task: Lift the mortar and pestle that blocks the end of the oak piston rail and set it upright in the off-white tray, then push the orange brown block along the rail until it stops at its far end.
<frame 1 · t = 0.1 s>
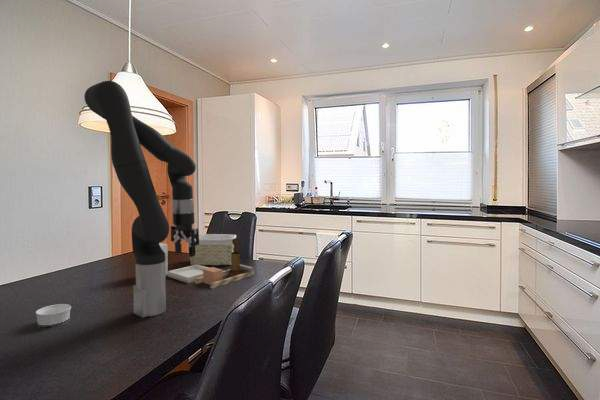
hand: (185, 254, 121), 17 cm above the table, tool pointing down, fingers open, 8 cm apart
storage basket: (213, 263, 179), on the table
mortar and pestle: (235, 276, 154), resting in piston rail
piston rail: (225, 279, 149), on the table
supplement box: (153, 277, 152), on the table
tray: (192, 275, 154), on the table
ramekin: (54, 323, 103), on the table
orange brown block: (213, 276, 143), point 3 cm above the table, slide at 0.0 cm
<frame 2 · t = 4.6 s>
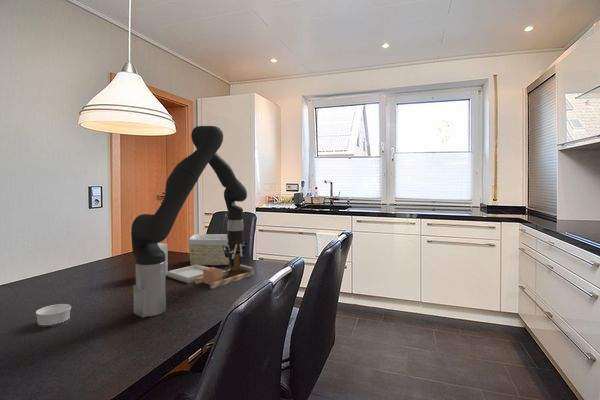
hand: (235, 265, 153), 5 cm above the table, tool pointing down, fingers closed on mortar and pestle, 4 cm apart
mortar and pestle: (235, 276, 154), resting in piston rail, touching gripper
everything else where it was.
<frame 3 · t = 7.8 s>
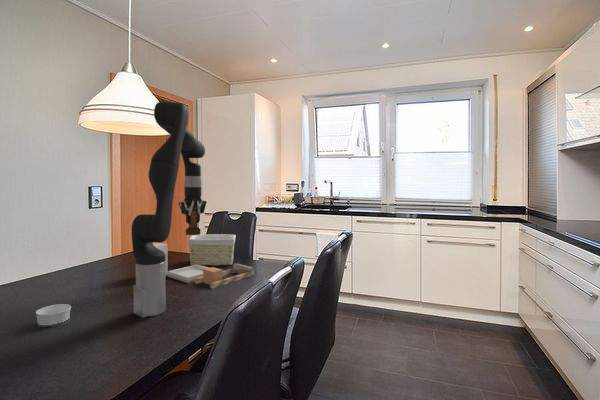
hand: (193, 222, 152), 25 cm above the table, tool pointing down, fingers closed on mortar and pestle, 4 cm apart
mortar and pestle: (193, 234, 152), point 20 cm above the table, touching gripper
everything else where it was.
when the fingers open (8 cm above the table, at t = 11.5 s): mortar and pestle drops 1 cm, resting on tray.
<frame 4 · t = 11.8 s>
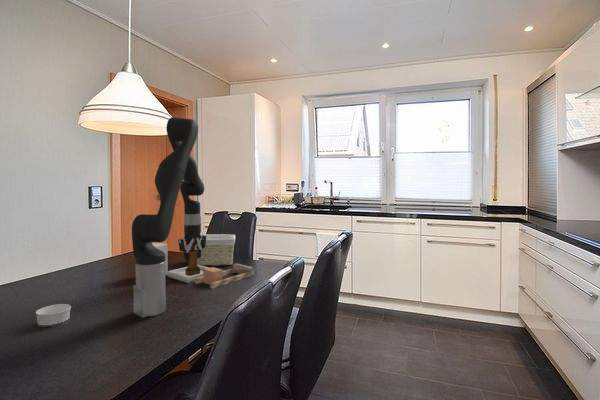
hand: (192, 258, 153), 8 cm above the table, tool pointing down, fingers open, 6 cm apart
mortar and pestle: (192, 274, 153), point 1 cm above the table, touching tray
everything else where it was.
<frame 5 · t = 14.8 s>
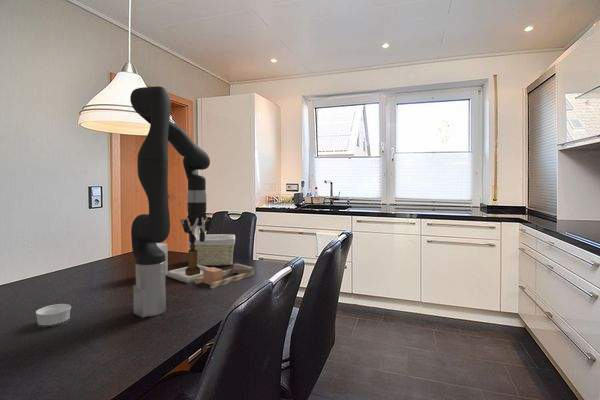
hand: (197, 242, 136), 19 cm above the table, tool pointing down, fingers open, 4 cm apart
nothing on the table moved.
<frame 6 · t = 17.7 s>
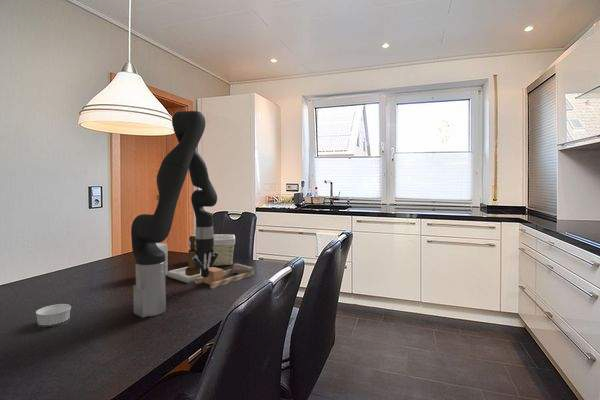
hand: (204, 276, 140), 4 cm above the table, tool pointing down, fingers closed
orange brown block: (213, 276, 143), point 3 cm above the table, slide at 0.3 cm, touching gripper
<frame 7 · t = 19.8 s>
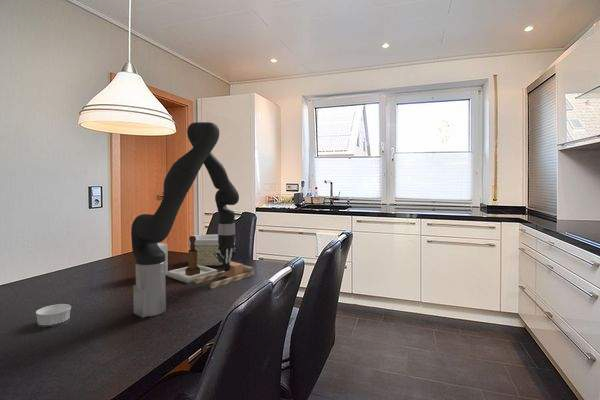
hand: (226, 270, 149), 4 cm above the table, tool pointing down, fingers closed
orange brown block: (233, 270, 153), point 3 cm above the table, slide at 12.1 cm, touching gripper
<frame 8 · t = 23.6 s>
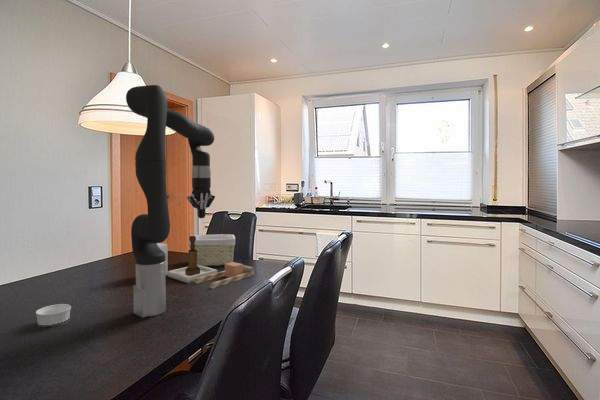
hand: (201, 217, 138), 29 cm above the table, tool pointing down, fingers closed
orange brown block: (233, 270, 153), point 3 cm above the table, slide at 12.0 cm
at the end: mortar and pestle inside the target area on the tray (0.1 cm from its centre), point 0.8 cm above the tray's base; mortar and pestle tilted 0°; orange brown block slide at 12.0 cm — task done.
